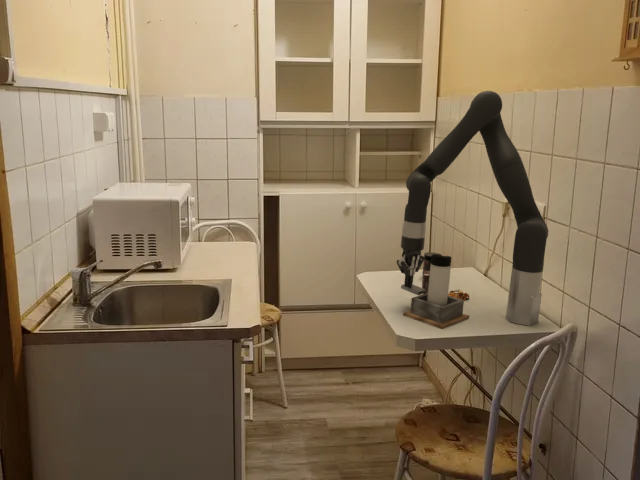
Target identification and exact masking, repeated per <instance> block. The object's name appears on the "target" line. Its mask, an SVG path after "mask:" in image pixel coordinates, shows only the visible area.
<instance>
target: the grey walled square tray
mask: <svg viewBox="0 0 640 480" xmlns="http://www.w3.org/2000/svg"><path fill="white" fill-rule="evenodd" d="M427 298H428V293H425V294H421V295H417V296H414V297H411V300H410V302H411V303H410V309H409V310H407V311H404V312H402V313H403V316H404V317H406V318H409V319H413V320H414V321H417V322H421V323H424V324H427V325H429V326H432V327H435V328H438V329H441V330H444V329H446V328H450V327H451V326H454V325H457V324H459V323H461V322H463V321H467V320H468V319H470V315H469V314H467V313H464V312H463V311H464V305H465V301H464V300H461V299H457V298H454V297H451V296H448V298H447V305H444V306H439V305H436V304H433V303H430V302H427Z"/></svg>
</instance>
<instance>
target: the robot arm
mask: <svg viewBox="0 0 640 480" xmlns="http://www.w3.org/2000/svg"><path fill="white" fill-rule="evenodd" d="M502 109H503V101H502V98H501V96H500V95H499V94H498V93H497V92H495V91H493V90H484V91H481V92H479V93H478V94H477V95H475V96H474V98H473V99H472V101H471V102H470V106H469V108H468V109H467V111H466V112H465V115H463V117H462V119H461V120H460V121H459V122H458V124H457V125H456V126H454V128H453V129H452V130H451V131H450V132H449V133H448V134H447V135H446V136H445V138H444V139H442V141H440V143H439V144H438V145H437V146H436V147H435V148H434V149H433V150H432V151H431V153H430V154H429V155H428V156H427V158H426V159H425V160H424V161H423V162H422V163H420V164H419V165H418V166H417V167H416V168H415V169H414V170H412V172H411V173H410V174H409V175H408V177H407V179H406V182H405V185H406V186H405V187H406V189H407V190H408V195H407V196H408V197H407V198H408V199H407V204H406V205H405V207H404V216H403V223H402V230H401V238H400V239H401V241H400V248H401V249H402V254H401V258H400V259H397V260H396V265H397V267H398V269H399V272H400V274H401V273H402V274H404V283H403V284H405V285H407V286H411V285H414V284H413V283H414V277H415V276H414V275H416V273H419V271H420V269H421V267H422V266H423V262H424V259H425V257H424V255H422V251H423V250H424V249H425V242H426V241H425V240H426V239H425V238H426V231H427V230H426V229H427V228H426V227H427V225H426V224H427V223H426V222H427V213H428V211H427V210H428V205H429V202H430V198H431V194H432V193H431V192H432V182H434V181H433V180H435V178H437V177H438V176H441V175H442V174H443V173H445V172H446V170H448V168H449V167H450V166H451V165H452V163H454V161H455V160H456V159H457V158H458V156H459V155H460V154H461V153H462V151H463V150H464V149H465V147H466V146H467V145H468V143H470V141H471V140H472V139H473V138H474V137H475V136H476V135H477V134H478V132H479V133H480V136H481V138H482V140H483V143H484V146H485V147H484V148H485V150H486V154H487V158H488V161H489V164H490V166H491V170H492V172H493V175H494V179H495V180H496V183H497V186H498V188H499V189H500V191H501V193H502V194H503V196H504V198H505V199H506V201H507V202H508V204H509V205H510V207H511V208H510V209H511V210H512V213H513V215H514V216H513V217H514V218H515V222H516V223H515V224H516V227H517V229H516V230H515V235H514V242H513V250H512V251H513V252H512V266H511V275H510V281H509V282H510V283H509V290H508V296H507V297H508V298H507V305H506V313H505V319H506V320H507V321H508V322H510V323H514V324H516V325H517V324H518V325H522V326H523V325H525V326H529V327H530V326H532V325H534V324H536V323H538V322H539V319H540V318H539V317H540V311H541V304H542V297H543V295H542V293H540V291H541V285H542V284H541V283H542V280H543V279H542V278H543V271H544V266H545V265H544V263H545V262H544V261H545V254H546V246H547V239H548V236H549V228H548V225H547V223H546V221H545V220H544V218H543V216H542V214H541V212H540V210H539V208H538V205H537V203H536V201H535V199H534V194H533V191H532V187H531V186H532V185H531V184H530V181H529V177H528V174H527V170H526V168H525V166H524V162H523V160H522V158H521V155H520V152H519V151H518V150H517V148H516V146H515V144H514V143H513V141H512V140H511V138H510V137H509V135H508V134H507V131H506V128H505V125H504V122H503V119H502V115H501V113H502Z"/></svg>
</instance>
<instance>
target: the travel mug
mask: <svg viewBox="0 0 640 480" xmlns="http://www.w3.org/2000/svg"><path fill="white" fill-rule="evenodd" d="M439 254H440V253H439ZM439 254H432V258H431V266H430V277H429V287H428V298H427V302H430V303H433V304H436V305H439V306H444V305H447V298H448V293H449V286H450V278H451V270H452V269H451V267H452V264H451V263H452V258H453V257H452V256H449V255H442V254H441V255H442V256H441V255H439Z"/></svg>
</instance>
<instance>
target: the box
mask: <svg viewBox="0 0 640 480" xmlns="http://www.w3.org/2000/svg"><path fill="white" fill-rule="evenodd" d="M422 273H423V279H422V281H421V282H422V283H421V288H423V289H425V290H426V291H425V293H428V287H429V277H430V271H423V270H422ZM425 293H424V294H425Z"/></svg>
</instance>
